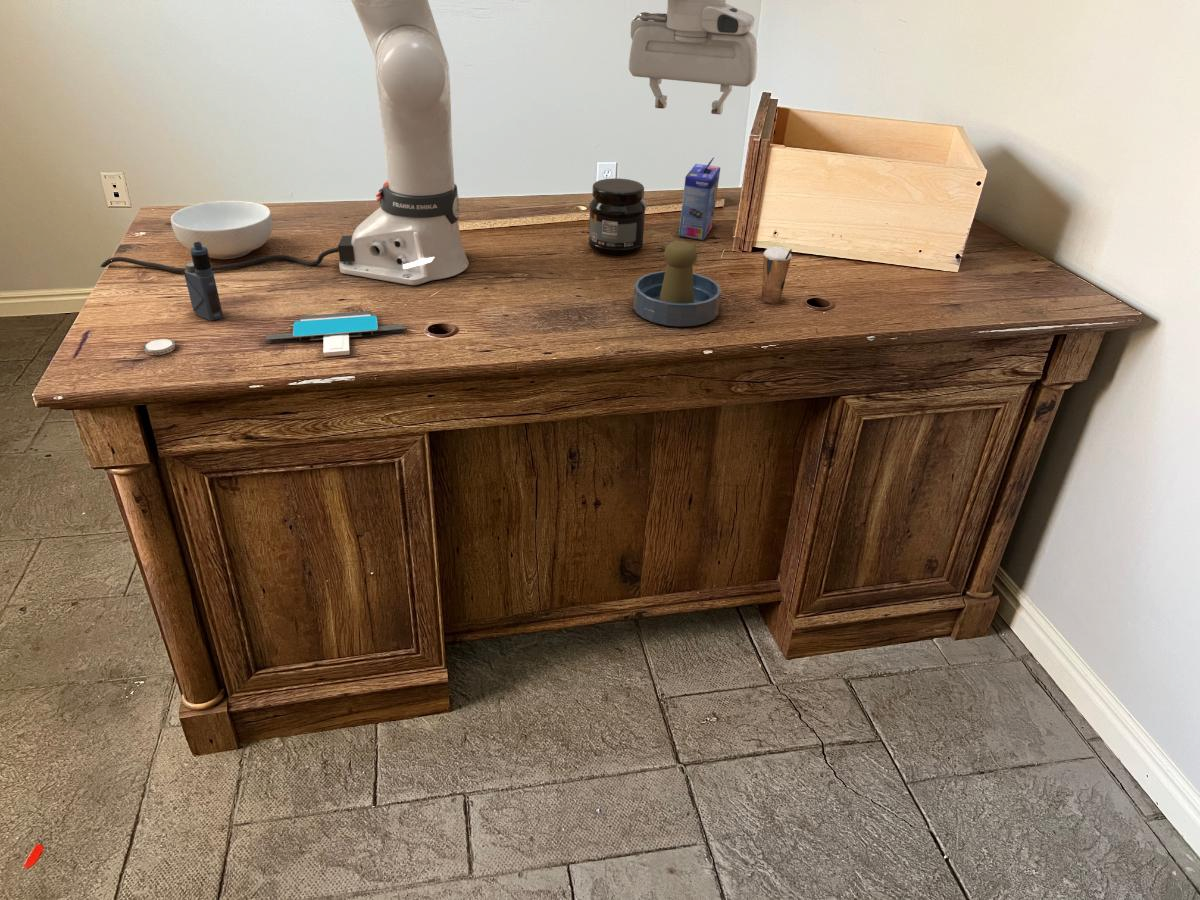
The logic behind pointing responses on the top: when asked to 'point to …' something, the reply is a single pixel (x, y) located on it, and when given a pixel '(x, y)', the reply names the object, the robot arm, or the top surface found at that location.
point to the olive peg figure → (679, 273)
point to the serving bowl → (676, 313)
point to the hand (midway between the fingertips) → (688, 110)
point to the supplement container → (617, 217)
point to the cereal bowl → (223, 227)
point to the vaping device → (202, 284)
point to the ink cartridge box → (699, 201)
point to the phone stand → (335, 330)
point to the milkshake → (774, 273)
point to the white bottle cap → (159, 346)
